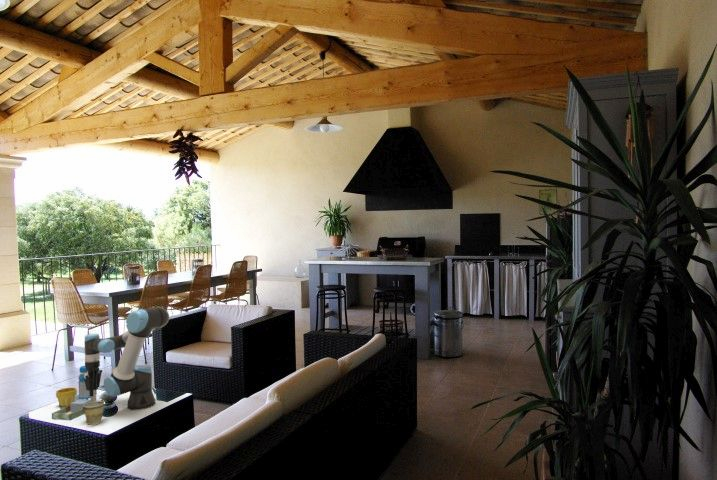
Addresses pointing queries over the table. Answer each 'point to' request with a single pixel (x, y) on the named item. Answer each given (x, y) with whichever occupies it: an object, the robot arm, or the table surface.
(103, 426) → the table surface
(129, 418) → the table surface
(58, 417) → the lane box
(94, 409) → the ceramic cup
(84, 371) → the beverage bottle
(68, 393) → the plant pot
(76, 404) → the slate block
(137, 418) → the table surface
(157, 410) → the table surface
